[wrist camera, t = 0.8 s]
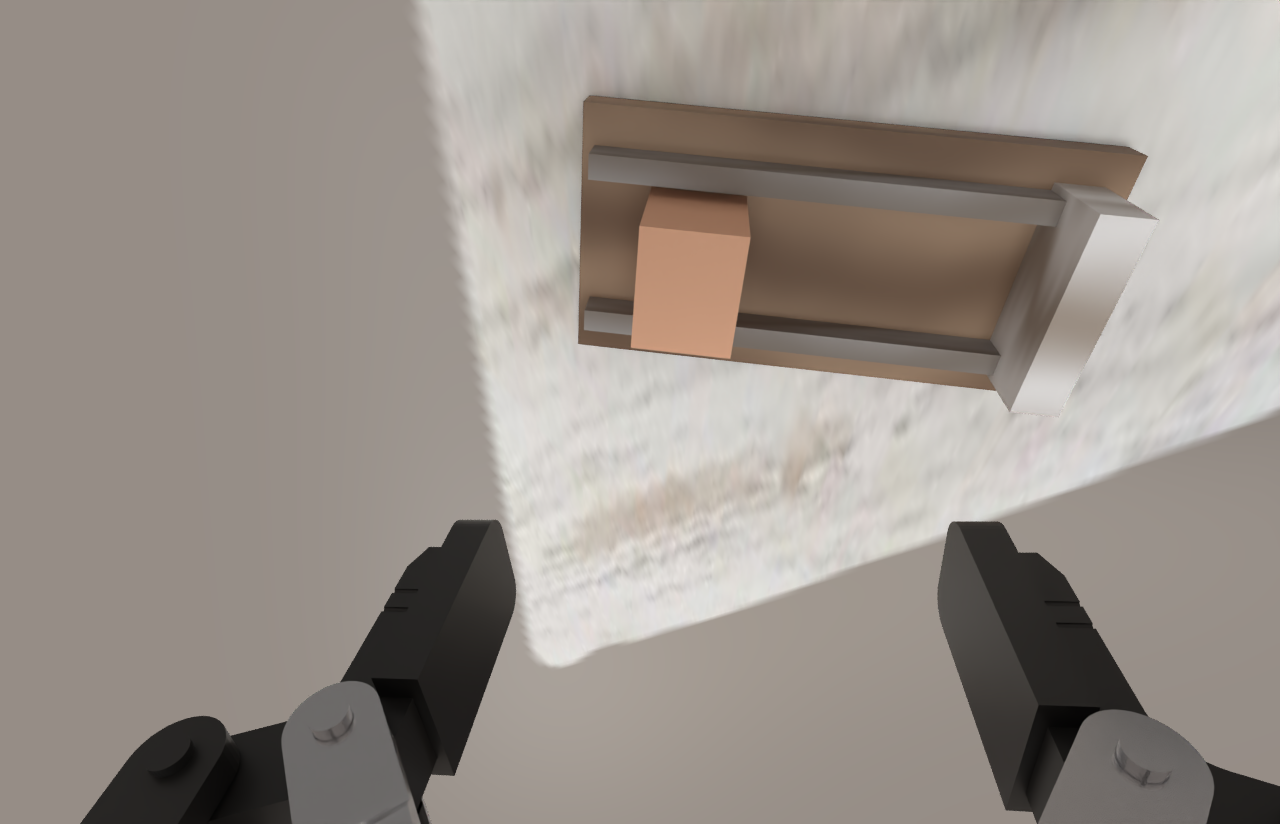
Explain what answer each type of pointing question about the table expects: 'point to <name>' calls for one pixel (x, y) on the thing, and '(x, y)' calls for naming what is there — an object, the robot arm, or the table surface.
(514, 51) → the table surface
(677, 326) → the orange-brown block
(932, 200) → the rail board
